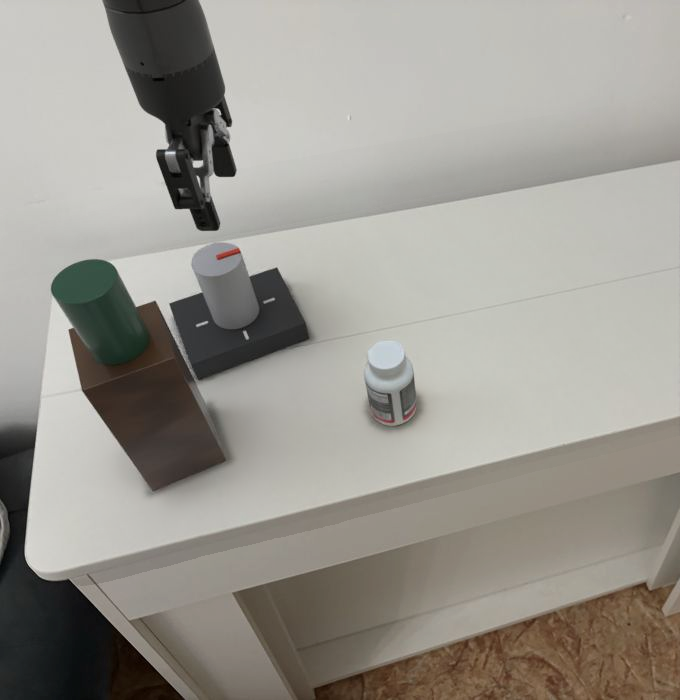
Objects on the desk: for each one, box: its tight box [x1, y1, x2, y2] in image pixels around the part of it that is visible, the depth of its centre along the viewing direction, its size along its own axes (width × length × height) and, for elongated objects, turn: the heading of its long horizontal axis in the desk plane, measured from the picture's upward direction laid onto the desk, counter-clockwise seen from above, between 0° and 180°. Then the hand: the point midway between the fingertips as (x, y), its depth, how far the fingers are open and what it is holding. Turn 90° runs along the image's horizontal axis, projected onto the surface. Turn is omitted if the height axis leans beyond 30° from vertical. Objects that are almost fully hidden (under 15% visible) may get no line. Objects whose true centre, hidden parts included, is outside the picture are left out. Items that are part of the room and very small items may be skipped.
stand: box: [67, 300, 227, 492], centre depth 71 cm, size 8×8×18 cm
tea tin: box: [50, 258, 150, 365], centre depth 61 cm, size 5×5×8 cm
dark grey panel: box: [168, 266, 310, 381], centre depth 88 cm, size 14×11×3 cm
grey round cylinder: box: [190, 241, 259, 329], centre depth 84 cm, size 6×6×9 cm
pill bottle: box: [363, 339, 418, 427], centre depth 78 cm, size 5×5×10 cm
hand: (218, 201), depth 72 cm, fingers open, 8 cm apart
